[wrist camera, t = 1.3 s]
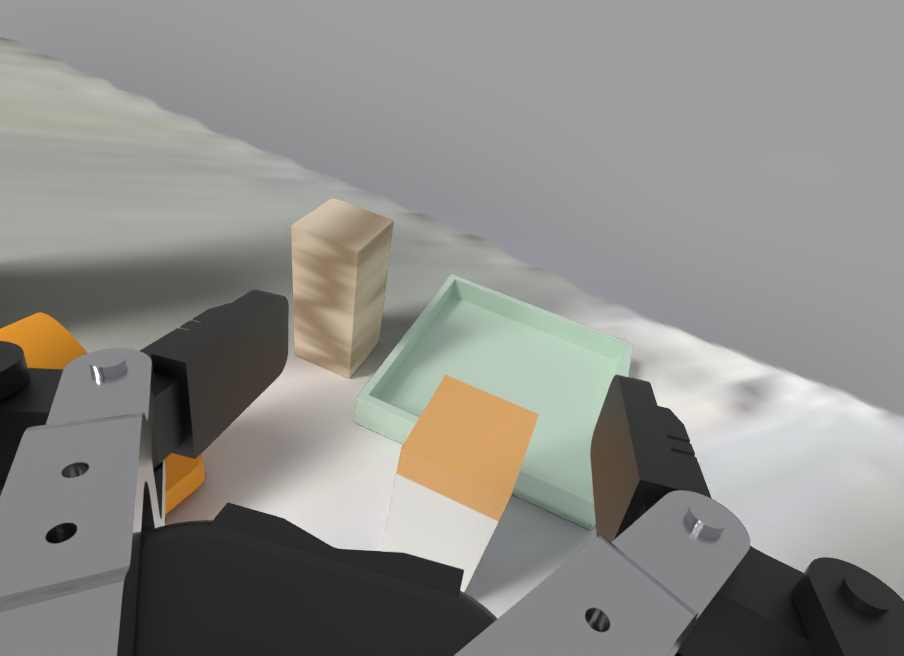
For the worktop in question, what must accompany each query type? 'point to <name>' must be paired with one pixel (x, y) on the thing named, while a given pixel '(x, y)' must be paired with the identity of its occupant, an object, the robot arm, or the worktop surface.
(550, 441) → the tray
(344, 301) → the plain box
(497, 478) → the labelled box
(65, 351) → the bracket
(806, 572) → the robot arm
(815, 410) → the worktop surface
